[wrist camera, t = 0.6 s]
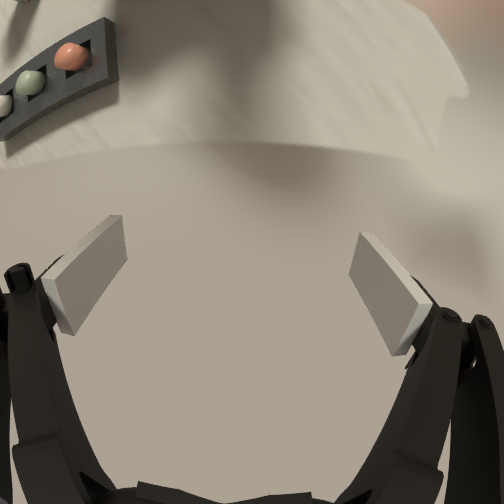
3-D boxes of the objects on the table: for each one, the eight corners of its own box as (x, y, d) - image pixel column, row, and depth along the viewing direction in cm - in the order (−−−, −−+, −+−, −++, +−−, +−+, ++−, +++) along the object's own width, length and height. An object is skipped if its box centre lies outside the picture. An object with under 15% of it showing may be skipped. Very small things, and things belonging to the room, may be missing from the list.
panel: (2, 91, 27) (-9, 92, 24) (114, 22, 25) (104, 16, 22) (6, 140, 32) (-5, 143, 29) (118, 80, 30) (108, 77, 27)
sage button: (28, 78, 25) (15, 77, 22) (44, 67, 25) (30, 66, 21) (29, 98, 26) (16, 99, 23) (45, 88, 26) (31, 88, 23)
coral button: (67, 53, 24) (53, 50, 21) (88, 42, 24) (75, 38, 21) (68, 75, 26) (54, 73, 23) (89, 64, 26) (76, 61, 23)
